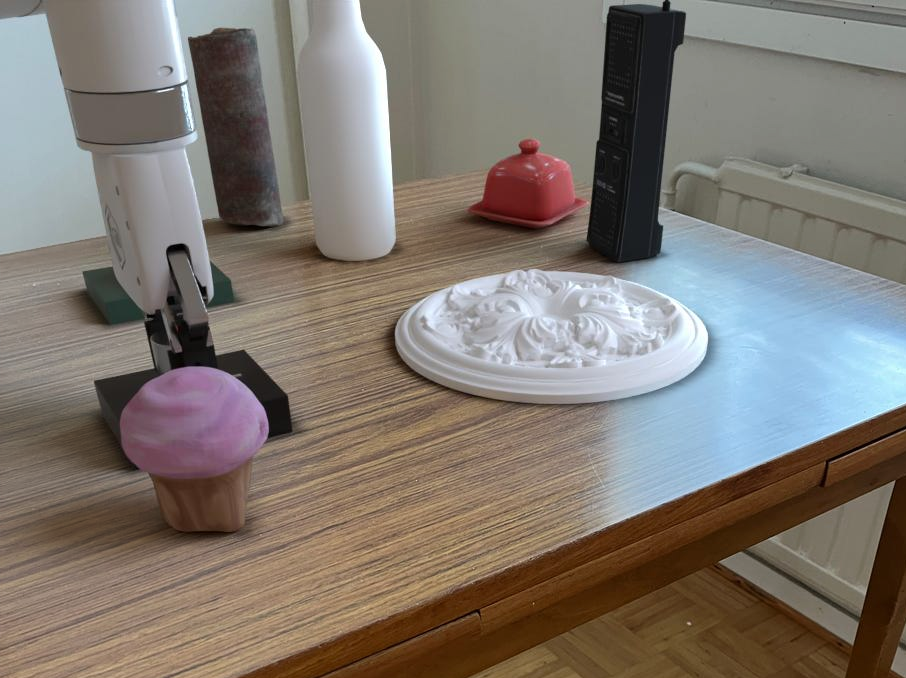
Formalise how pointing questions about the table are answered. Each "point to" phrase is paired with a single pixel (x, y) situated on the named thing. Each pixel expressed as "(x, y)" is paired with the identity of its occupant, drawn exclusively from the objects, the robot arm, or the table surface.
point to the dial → (161, 350)
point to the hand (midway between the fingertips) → (188, 382)
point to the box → (124, 309)
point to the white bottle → (346, 134)
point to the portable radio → (633, 129)
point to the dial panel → (238, 364)
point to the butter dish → (528, 189)
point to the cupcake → (196, 445)
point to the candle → (236, 126)
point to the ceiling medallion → (551, 338)
